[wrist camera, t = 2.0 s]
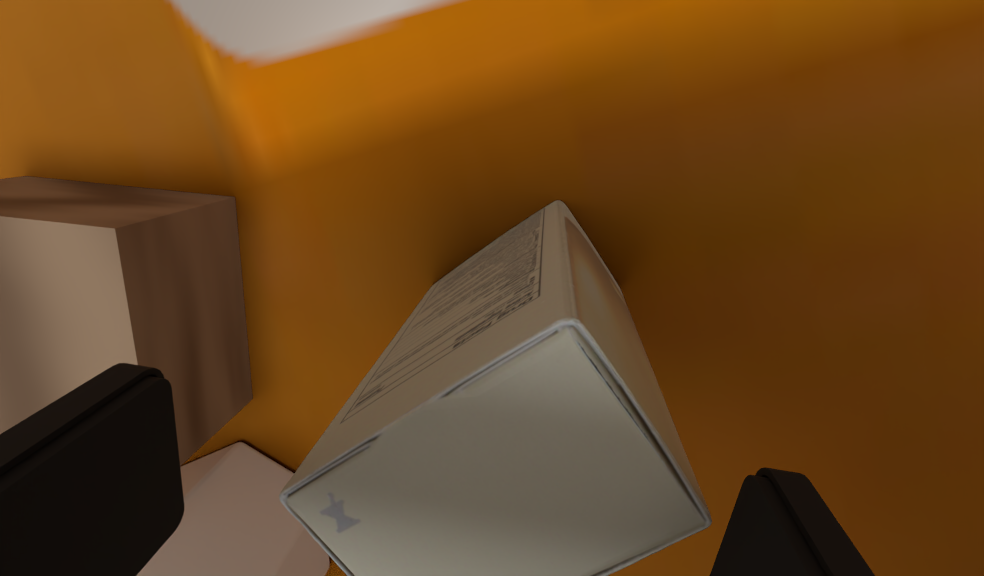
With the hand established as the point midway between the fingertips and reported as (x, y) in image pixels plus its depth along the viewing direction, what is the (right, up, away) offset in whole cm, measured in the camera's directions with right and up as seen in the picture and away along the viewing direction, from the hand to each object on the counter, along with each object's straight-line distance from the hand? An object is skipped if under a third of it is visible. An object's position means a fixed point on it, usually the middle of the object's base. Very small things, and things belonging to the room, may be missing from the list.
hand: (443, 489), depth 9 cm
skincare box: (+2, +3, +12) cm, 12 cm away
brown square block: (-14, +3, +14) cm, 20 cm away
